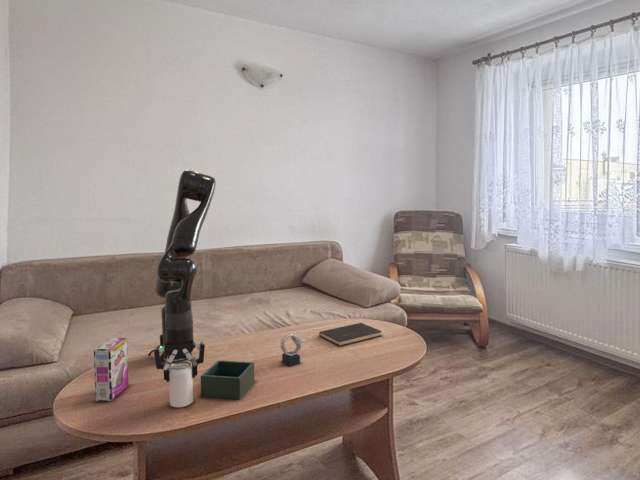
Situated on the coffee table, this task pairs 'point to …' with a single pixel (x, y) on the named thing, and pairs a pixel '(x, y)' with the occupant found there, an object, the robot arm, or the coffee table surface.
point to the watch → (291, 357)
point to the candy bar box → (111, 369)
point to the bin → (227, 379)
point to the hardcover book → (350, 334)
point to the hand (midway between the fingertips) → (180, 378)
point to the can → (180, 384)
